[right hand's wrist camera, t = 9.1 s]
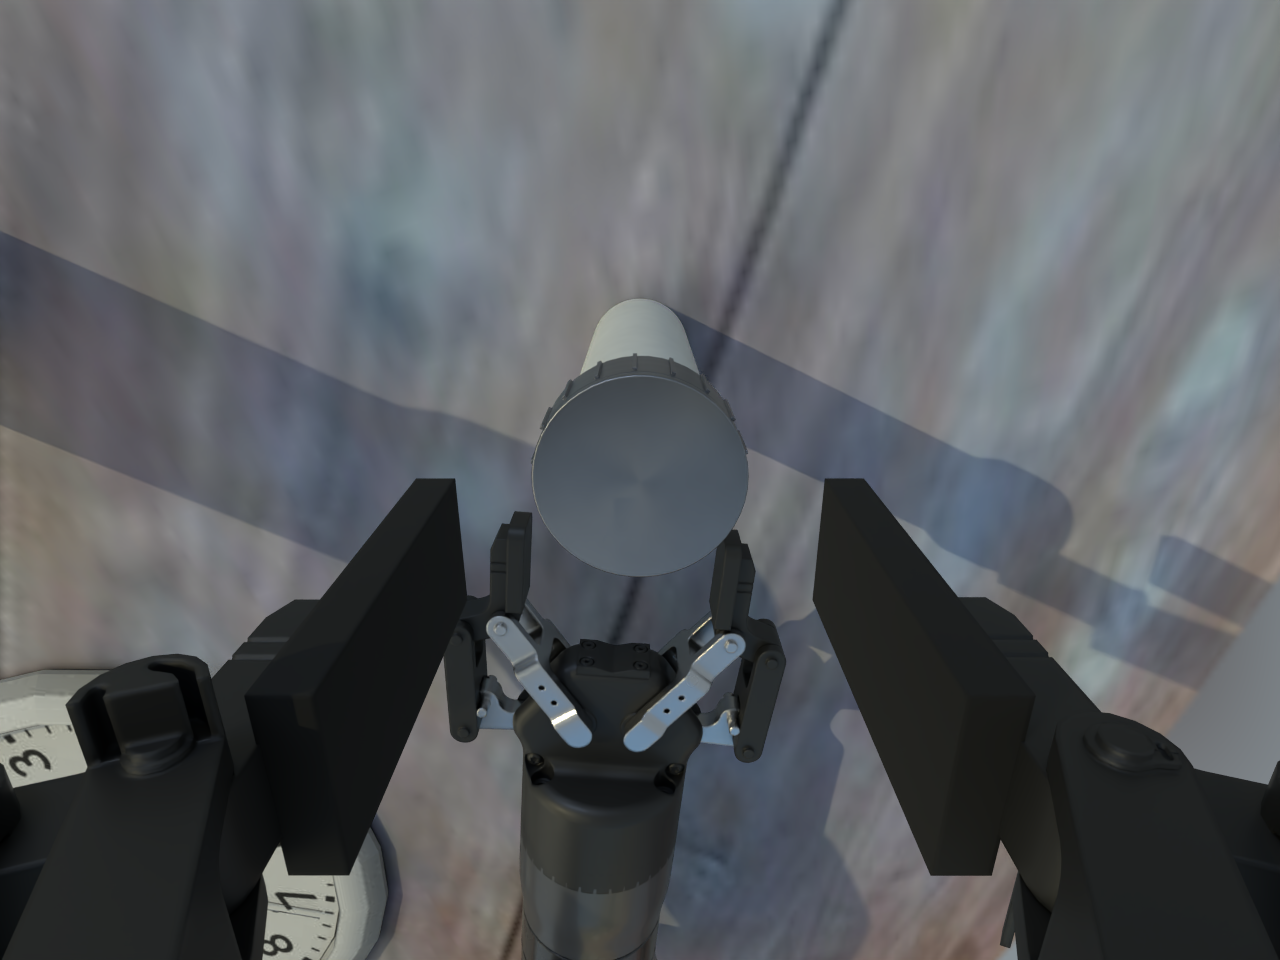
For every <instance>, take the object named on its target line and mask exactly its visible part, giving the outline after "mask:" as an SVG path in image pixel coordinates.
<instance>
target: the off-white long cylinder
mask: <svg viewBox="0 0 1280 960" xmlns="http://www.w3.org/2000/svg"><path fill="white" fill-rule="evenodd" d="M633 353H637V356H653V357H659V358H664V359H668V360H669V357H670V358H673V359H674V361H675V362H677V363H679V364H681V365H684V366H686V367H688V368H690V369H691V370H693V371H694V372H696V373H698V374H699V371H698V368H697V365H696V362H695V359H694V356H693V353H692V350H691V347H690V344H689V341H688V338H687V335H686V332H685V330H684V327H683V325H682V323H681V321H680V320H679V318H678V317H677V316H676V315H675V314H674V312H673V311H671V310H670V309H669V308H668V307H666V306H665V305H663V304H661V303H659V302H656V301H653V300H649V299H631V300H627V301H624V302H621V303H619V304H617V305H615V306H614V307H612V308H611V309H610V310H609V311H608V312H607V313H606V314H605V315H604V316H603V317H602V318H601V320H600V321H599V323H598V325H597V327H596V330H595V332H594V335H593V338H592V341H591V344H590V347H589V350H588V353H587V356H586V359H585V362H584V365H583V368H582V371H581V374H582V373H584V372H585V371H587V370H589V369H591V368H592V367H594V366H596V365H597V362H599V361H602V363H603V362H606V361H609V360H612V359H616V358H620V357H627V356H633ZM581 374H580V375H581ZM699 375H700V374H699Z"/></svg>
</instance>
